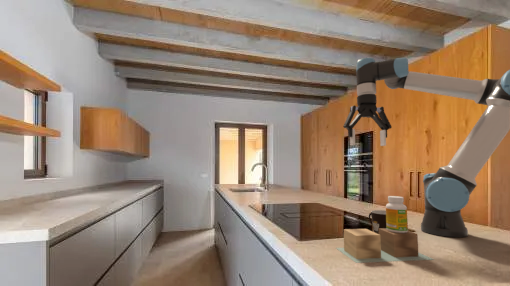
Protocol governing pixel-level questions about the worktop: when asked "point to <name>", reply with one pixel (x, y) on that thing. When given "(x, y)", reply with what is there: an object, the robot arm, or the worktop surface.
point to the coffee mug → (378, 219)
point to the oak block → (362, 243)
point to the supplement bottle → (396, 215)
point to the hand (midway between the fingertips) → (368, 145)
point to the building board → (385, 257)
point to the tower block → (399, 243)
